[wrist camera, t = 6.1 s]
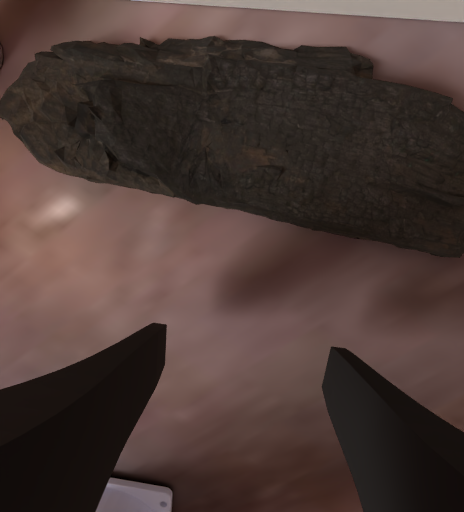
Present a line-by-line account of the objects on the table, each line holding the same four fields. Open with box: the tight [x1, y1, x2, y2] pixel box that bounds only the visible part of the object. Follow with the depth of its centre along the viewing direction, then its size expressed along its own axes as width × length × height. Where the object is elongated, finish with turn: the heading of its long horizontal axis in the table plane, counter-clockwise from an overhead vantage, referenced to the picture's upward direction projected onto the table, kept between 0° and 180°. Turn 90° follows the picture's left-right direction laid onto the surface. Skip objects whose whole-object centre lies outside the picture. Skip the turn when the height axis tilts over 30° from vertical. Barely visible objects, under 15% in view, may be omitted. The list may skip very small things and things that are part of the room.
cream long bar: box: [0, 0, 464, 68], centre depth 8 cm, size 6×31×4 cm, turn 84°
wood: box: [0, 36, 464, 258], centre depth 10 cm, size 22×7×3 cm, turn 78°
